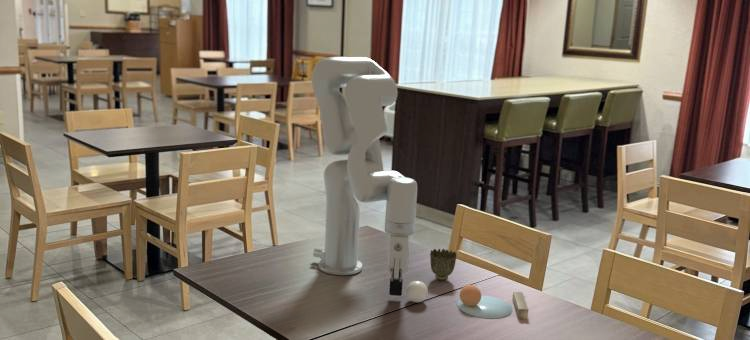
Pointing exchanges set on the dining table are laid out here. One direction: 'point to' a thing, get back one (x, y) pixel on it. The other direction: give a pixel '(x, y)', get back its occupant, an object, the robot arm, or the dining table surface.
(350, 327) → the dining table surface
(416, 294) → the ivory ball
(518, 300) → the tan bar
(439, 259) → the cup
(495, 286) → the dining table surface
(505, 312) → the light blue plate
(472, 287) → the terracotta ball
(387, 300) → the dining table surface
